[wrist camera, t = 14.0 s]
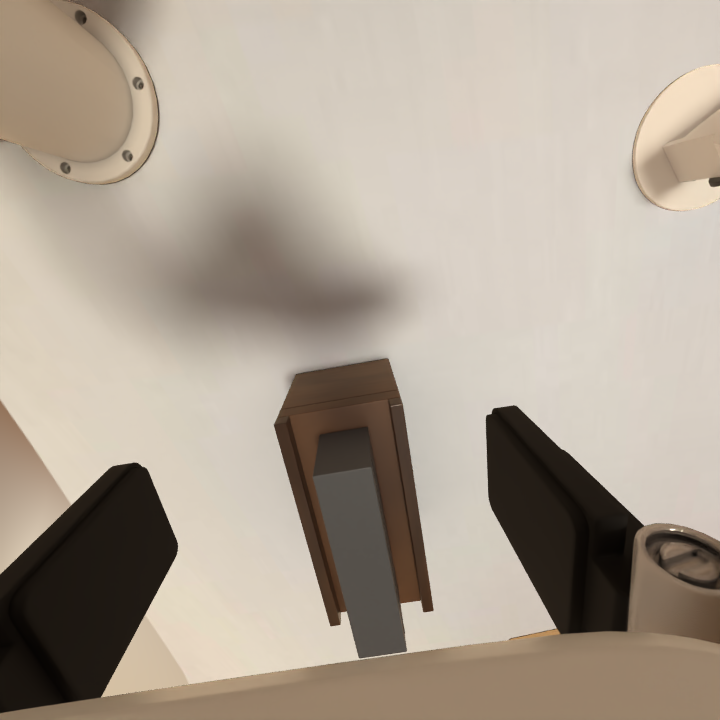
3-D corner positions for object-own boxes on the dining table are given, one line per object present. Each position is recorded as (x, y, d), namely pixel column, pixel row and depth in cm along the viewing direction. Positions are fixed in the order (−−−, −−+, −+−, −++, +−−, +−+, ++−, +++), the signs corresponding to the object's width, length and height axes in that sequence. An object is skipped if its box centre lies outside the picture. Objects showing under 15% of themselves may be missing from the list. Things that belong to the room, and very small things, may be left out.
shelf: (335, 535, 44) (330, 626, 34) (295, 374, 38) (273, 425, 27) (413, 522, 44) (433, 611, 33) (388, 358, 37) (402, 403, 27)
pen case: (357, 595, 34) (358, 658, 29) (318, 434, 29) (311, 476, 23) (399, 589, 34) (407, 651, 29) (368, 426, 28) (372, 466, 23)
